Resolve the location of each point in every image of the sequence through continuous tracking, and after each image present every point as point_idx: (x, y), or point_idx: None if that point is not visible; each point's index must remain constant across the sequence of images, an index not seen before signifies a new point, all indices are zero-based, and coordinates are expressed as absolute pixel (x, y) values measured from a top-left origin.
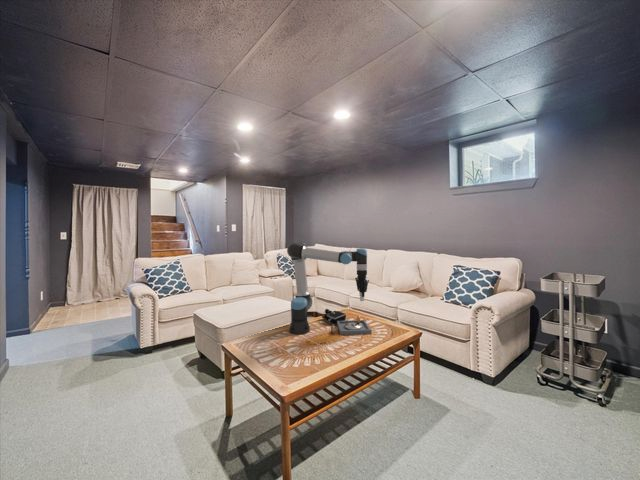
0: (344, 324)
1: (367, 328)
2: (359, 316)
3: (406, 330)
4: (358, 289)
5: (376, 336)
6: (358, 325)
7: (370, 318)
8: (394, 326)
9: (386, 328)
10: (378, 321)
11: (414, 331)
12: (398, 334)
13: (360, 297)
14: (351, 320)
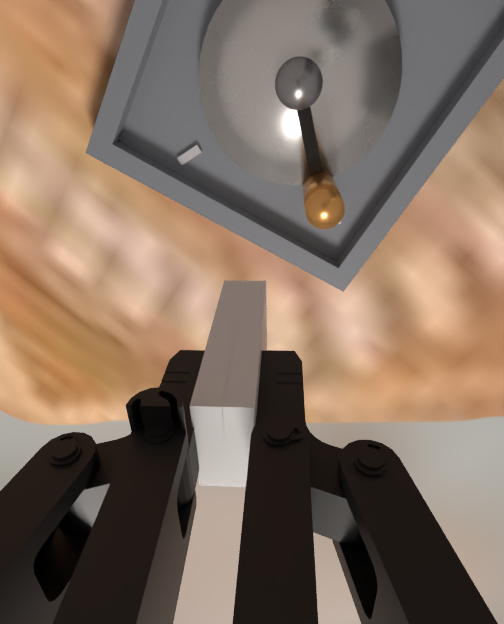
0: (431, 47)
1: (172, 173)
2: (314, 213)
3: (55, 394)
4: (346, 482)
5: (25, 138)
6: (262, 133)
7: (392, 384)
8: None
9: (146, 326)
10: None
11: (22, 414)
12: (8, 308)
13: (243, 319)
14: (429, 174)
